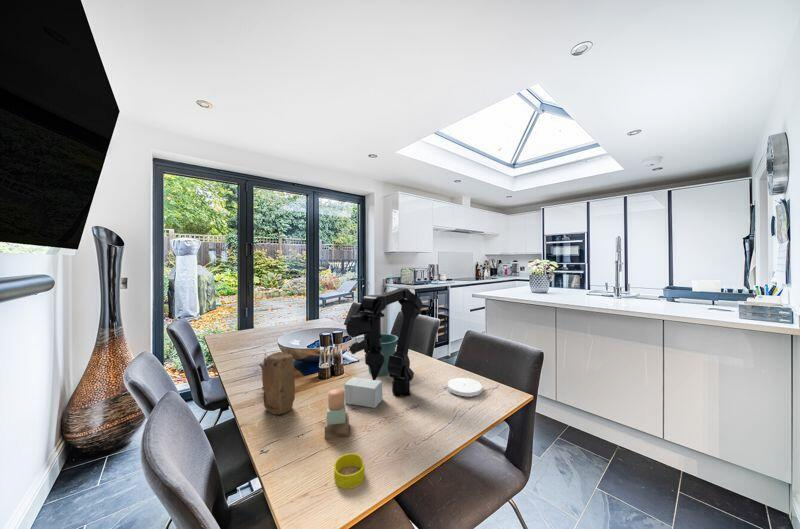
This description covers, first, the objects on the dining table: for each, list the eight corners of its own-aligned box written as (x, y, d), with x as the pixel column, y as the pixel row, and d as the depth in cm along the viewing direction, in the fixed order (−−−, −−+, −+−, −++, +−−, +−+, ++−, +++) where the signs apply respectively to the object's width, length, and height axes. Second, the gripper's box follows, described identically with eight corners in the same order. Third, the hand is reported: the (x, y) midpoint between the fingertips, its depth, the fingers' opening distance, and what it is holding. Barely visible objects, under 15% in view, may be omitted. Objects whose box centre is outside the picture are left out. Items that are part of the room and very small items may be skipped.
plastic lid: (458, 401, 110) (458, 394, 110) (441, 386, 123) (441, 380, 123) (489, 395, 114) (489, 389, 114) (470, 381, 127) (470, 376, 127)
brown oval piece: (344, 402, 94) (344, 388, 94) (343, 409, 89) (343, 395, 89) (329, 403, 93) (329, 389, 93) (327, 411, 89) (327, 396, 88)
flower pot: (397, 378, 131) (397, 342, 131) (361, 378, 131) (361, 343, 131) (398, 364, 148) (398, 333, 147) (366, 365, 148) (366, 333, 148)
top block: (345, 413, 94) (345, 401, 94) (345, 423, 89) (345, 410, 89) (328, 415, 94) (328, 403, 93) (327, 424, 88) (326, 412, 88)
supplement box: (344, 403, 108) (374, 408, 104) (344, 383, 108) (374, 388, 104) (353, 395, 115) (382, 399, 111) (353, 376, 115) (382, 380, 111)
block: (297, 408, 105) (296, 353, 105) (279, 418, 99) (278, 360, 98) (277, 401, 111) (276, 349, 110) (259, 410, 104) (258, 355, 104)
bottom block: (348, 424, 95) (348, 412, 95) (348, 437, 88) (348, 424, 88) (327, 426, 94) (326, 414, 94) (324, 439, 87) (324, 426, 87)
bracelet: (337, 493, 67) (337, 479, 67) (331, 470, 74) (331, 458, 74) (368, 483, 70) (367, 470, 70) (359, 462, 77) (358, 450, 77)
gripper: (350, 326, 110) (350, 366, 111) (349, 339, 92) (350, 388, 92) (379, 324, 112) (379, 364, 112) (384, 337, 94) (384, 385, 94)
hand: (373, 374), depth 103 cm, fingers open, 9 cm apart
